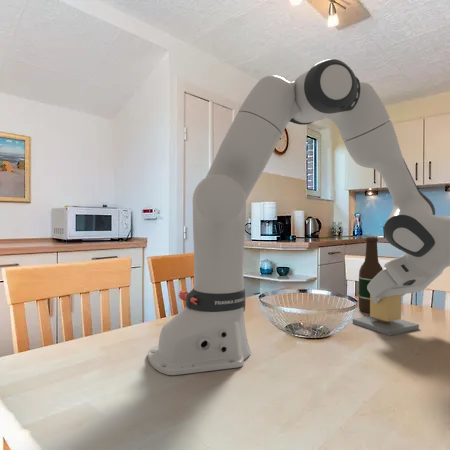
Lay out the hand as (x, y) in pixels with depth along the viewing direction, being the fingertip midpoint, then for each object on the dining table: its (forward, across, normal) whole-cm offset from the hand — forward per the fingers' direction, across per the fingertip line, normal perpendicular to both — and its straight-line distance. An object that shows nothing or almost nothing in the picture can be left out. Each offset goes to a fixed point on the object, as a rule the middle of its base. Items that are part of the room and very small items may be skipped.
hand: (383, 299), depth 98 cm
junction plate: (+5, 0, +6) cm, 7 cm away
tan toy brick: (+3, 0, +4) cm, 5 cm away
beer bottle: (+14, -10, -4) cm, 18 cm away
